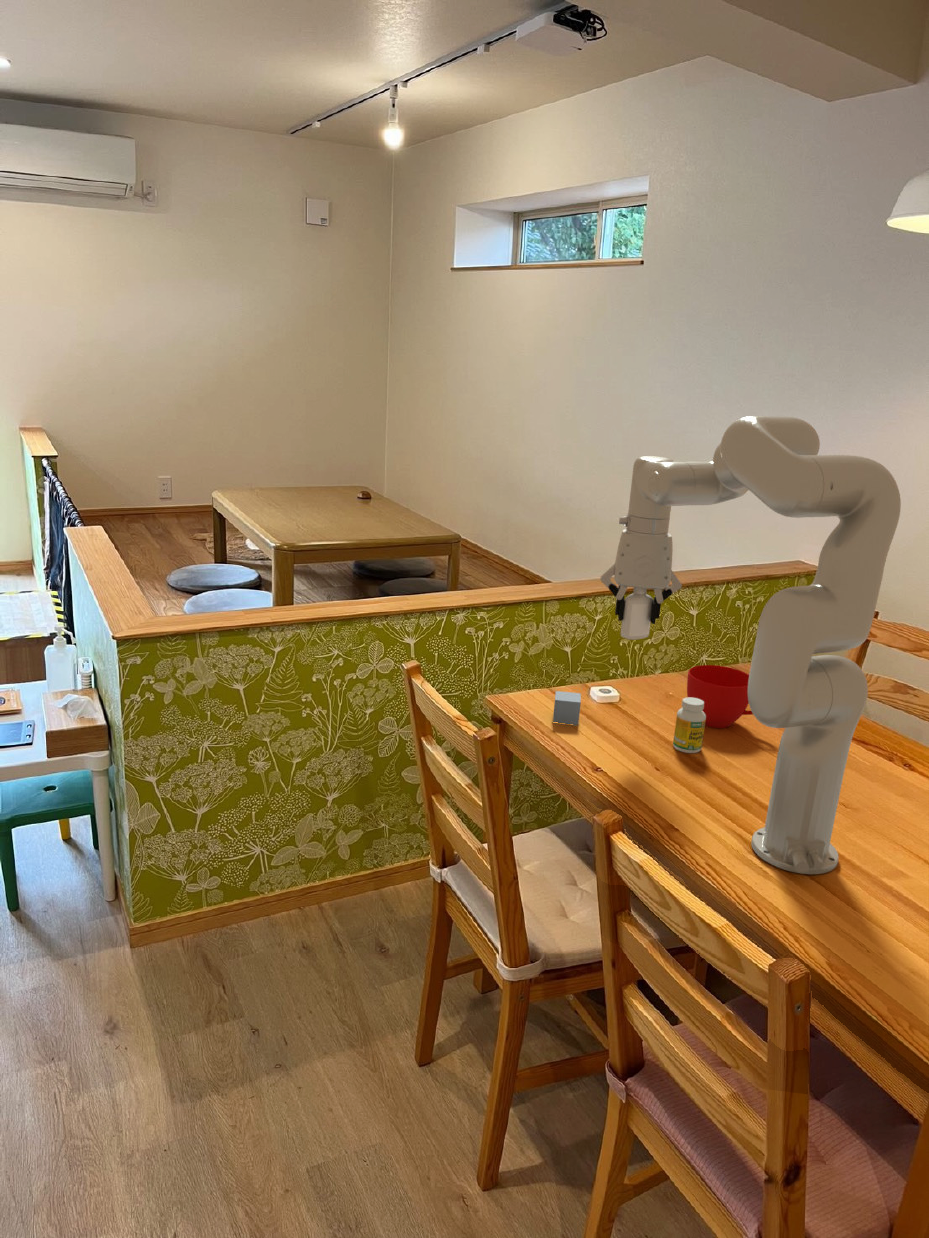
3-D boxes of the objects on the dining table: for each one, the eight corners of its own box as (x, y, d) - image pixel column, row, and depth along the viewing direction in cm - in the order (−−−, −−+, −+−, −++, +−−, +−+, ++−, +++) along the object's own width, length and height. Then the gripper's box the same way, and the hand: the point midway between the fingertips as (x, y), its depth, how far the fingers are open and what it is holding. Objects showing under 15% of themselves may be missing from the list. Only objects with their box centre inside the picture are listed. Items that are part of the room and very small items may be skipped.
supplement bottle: (686, 740, 184) (693, 693, 181) (707, 750, 180) (714, 703, 177) (666, 745, 181) (673, 698, 178) (687, 756, 177) (694, 708, 174)
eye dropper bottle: (651, 641, 177) (659, 578, 174) (622, 639, 177) (629, 577, 174) (646, 633, 181) (654, 573, 178) (617, 632, 181) (624, 571, 178)
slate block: (578, 726, 187) (580, 702, 186) (552, 723, 188) (555, 699, 186) (578, 716, 192) (580, 693, 191) (553, 713, 192) (555, 690, 191)
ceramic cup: (756, 745, 183) (764, 697, 180) (672, 723, 192) (679, 676, 189) (773, 725, 194) (781, 679, 191) (693, 704, 202) (700, 660, 199)
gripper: (601, 525, 170) (591, 621, 175) (697, 533, 169) (684, 630, 174) (599, 517, 177) (590, 611, 183) (692, 525, 176) (680, 619, 181)
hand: (636, 619), depth 178 cm, fingers closed on eye dropper bottle, 5 cm apart
